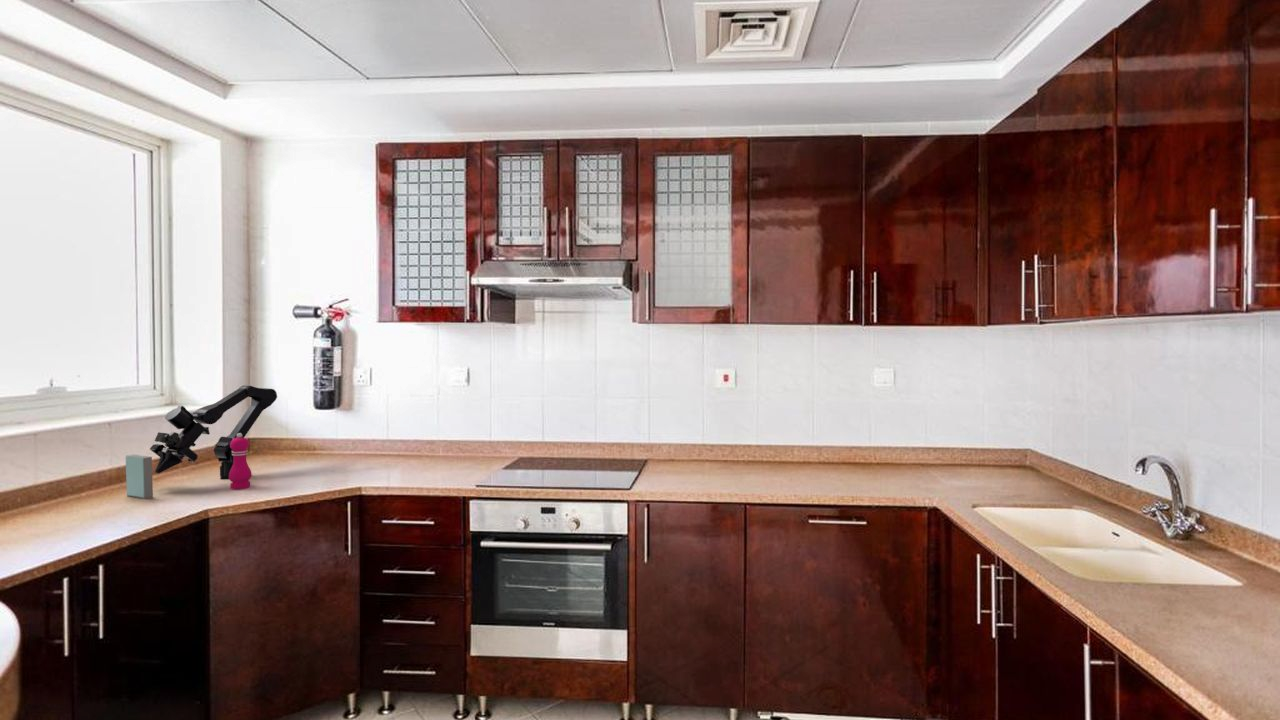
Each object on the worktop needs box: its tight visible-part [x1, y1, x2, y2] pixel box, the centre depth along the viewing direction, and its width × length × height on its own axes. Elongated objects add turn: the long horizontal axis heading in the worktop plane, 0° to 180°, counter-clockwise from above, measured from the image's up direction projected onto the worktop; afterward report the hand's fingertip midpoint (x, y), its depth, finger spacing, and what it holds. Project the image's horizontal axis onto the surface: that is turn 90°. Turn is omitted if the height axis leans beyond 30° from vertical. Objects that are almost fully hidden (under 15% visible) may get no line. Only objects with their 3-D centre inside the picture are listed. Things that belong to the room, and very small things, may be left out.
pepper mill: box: [229, 433, 253, 490], centre depth 240 cm, size 7×7×20 cm
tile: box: [125, 454, 154, 500], centre depth 226 cm, size 3×10×14 cm, turn 67°
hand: (156, 472), depth 232 cm, fingers closed
